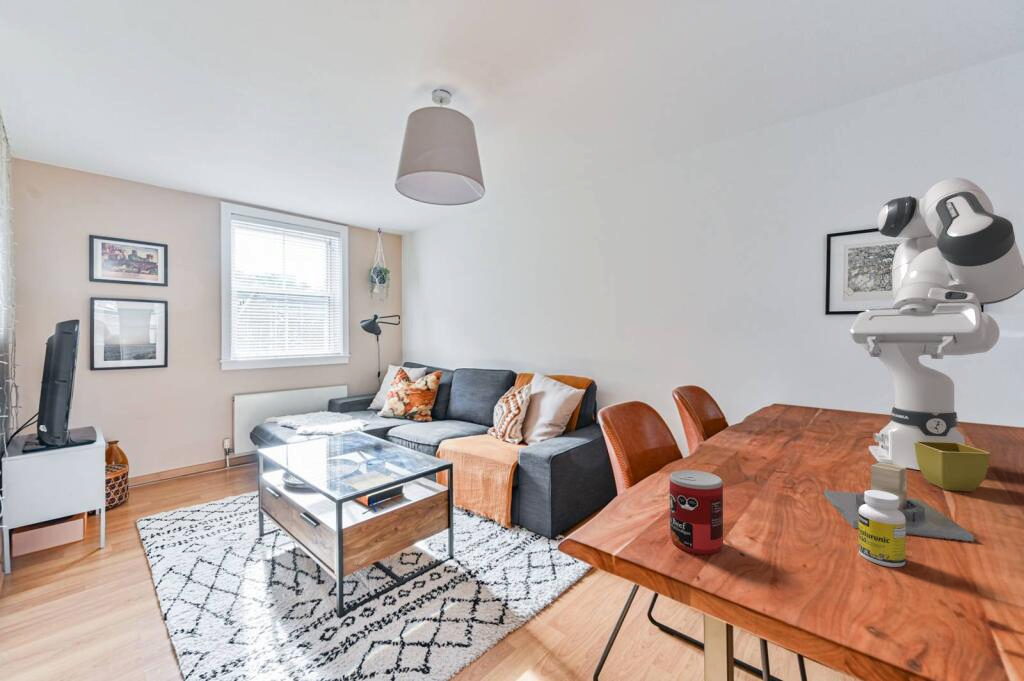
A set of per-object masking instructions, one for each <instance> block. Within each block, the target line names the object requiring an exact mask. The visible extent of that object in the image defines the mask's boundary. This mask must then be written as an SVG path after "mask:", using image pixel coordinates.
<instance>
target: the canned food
mask: <svg viewBox="0 0 1024 681" xmlns="http://www.w3.org/2000/svg"><path fill="white" fill-rule="evenodd" d="M723 488H724V485H723V479H722V478H721V477H720V476H718V475H716V474H713V473H711V472H707V471H702V470H693V469H690V470H689V469H687V470H686V469H684V470H683V469H681V470H675V471H673V472H670V474H669V528H670V529H669V530H670V531H669V532H670V533H669V535H670V538H671V542H672V544H673V545H674V546H676V547H677V548H679V549H680V550H683V551H685V552H688V553H691V554H697V555H713V554H717V553H719V552H720V551H722V550H721V549H722V548H723V545H724V489H723Z"/></svg>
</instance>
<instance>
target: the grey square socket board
mask: <svg viewBox="0 0 1024 681" xmlns="http://www.w3.org/2000/svg"><path fill="white" fill-rule="evenodd" d="M823 496H824V498H825V499H826V500H827V501H828V502H829V503H830V504H831V505H832V506H833V507H834V508H835V510H837V511H838V513H839V514H840V515H841V516H842V517H843V518H844V519H845V520H846V521H847V523H849V525H850V526H851V527H852V528H853V529H859V508H860V506H861V505H863V504H866V502H865V499H864V492H862V493H860V492H850V491H839V490H829V489H823ZM897 510H899V511H901V512H902V513H903V514H904V516H905V520H906V535H911V536H919V537H927V538H928V537H929V538H936V539H943V540H944V538H945V539H946V540H951V539H955V540H954V541H959V540H961V541H960V542H968V541H971V542H970V543H974V541H975V538H974V534H973V533H972V532H970V531H969V530H967V529H966V528H964V527H963V526H961V525H960V524H958V523H957V522H955V521H954V520H953V519H951V518H950V517H948V516H947V515H945V514H943V513H942V512H941V511H939V510H937V509H936V508H935V507H933V506H932V505H930V504H928V502H926V501H925V500H923V499H921V498H913V497H907V509H897Z"/></svg>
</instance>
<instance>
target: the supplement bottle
mask: <svg viewBox="0 0 1024 681" xmlns="http://www.w3.org/2000/svg"><path fill="white" fill-rule="evenodd" d="M863 493H864V499H865V502H866V504H863V505H861V506H860V508H859V528H858V552H859V555H861V557H862V558H864V559H866V560H868V561H869V562H872V563H874V564H877V565H879V566H880V565H881V566H884V567H890V568H899V567H903V566H905V565H906V560H907V559H906V558H907V557H906V553H907V550H906V548H907V544H906V543H907V542H906V538H907V536H906V535H907V534H906V520H905V516H904V514H903V513H902V512H901V511H899V510H897V508H899V497H898V496H896V495H894V494H891V493H888V492H884V491H878V490H871V489H868V490H864V491H863Z"/></svg>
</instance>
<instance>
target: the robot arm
mask: <svg viewBox="0 0 1024 681" xmlns="http://www.w3.org/2000/svg"><path fill="white" fill-rule="evenodd" d="M877 229H878V232H879V234H880V235H882V236H885V237H890V238H898V237H899V238H906V240H904V241H903V242H901V243H900V244H899V245H898V246H897V247H896V249H895V252H894V255H893V256H894V257H893V260H892V267H891V278H892V279H891V283H892V298H893V299H894V301H893V304H892V305H891V308H890V307H889V308H888V307H887V308H878V309H876V308H870V309H866V310H865V311H862V312H859V313H858V314H857V316H856V318H855V321H854V322H853V324H852V325H851V327H850V330H849V334H850V337H851V339H852V341H854V343H855V344H857V345H858V344H859V345H860V346H862V348H863V349H864V350H866V351H867V352H868V354H869V356H870V358H878V359H879V360H880V361H881V362H882V363H883V365H885V367H886V368H887V370H888V372H889V374H890V376H891V380H892V385H893V396H894V399H893V400H894V406H893V407H892V409H891V411H890V417H889V418H890V422H888V424H886V425H885V426H884V427H883V428H882V429H881V430H880V431H879V433H877V432H876V433H874V442H876V443H878V445H869V446H868V451H869V452H870V453H871V454H872V456H873V457H874V458H875V459H876V461H877V462H882V463H887V464H892V465H897V466H902V467H906V469H911V470H918V471H921V470H920V468H919V466H918V463H917V457H916V451H915V444H914V442H915V441H923V442H953V443H960V444H964V445H966V444H965V438H964V435H963V434H962V432H959V431H958V430H957V428H956V427H958V421H959V419H958V413H957V412H956V411H955V383H954V381H953V379H952V378H951V377H950V376H948V375H947V374H945V373H944V372H941V371H940V370H937V369H934V368H932V367H928V366H926V365H923V363H921V361H920V358H919V357H922V356H930V358H931V360H933V359H935V360H943V358H944V356H967V355H968V356H969V355H975V354H982V353H987V352H988V351H990V350H991V349H993V348H994V347H995V346H996V344H997V343H998V341H999V338H1000V327H999V325H998V323H997V321H996V320H995V318H993V317H992V316H991V315H989V314H988V313H986V312H983V311H982V307H981V306H982V305H983V306H986V305H991V304H997V303H1001V302H1005V301H1007V300H1009V299H1011V298H1014V296H1017V295H1018V294H1019V293H1021V292H1022V291H1023V290H1024V262H1023V259H1022V257H1021V256H1022V255H1021V253H1020V250H1019V248H1018V244H1017V241H1016V235H1015V230H1014V225H1013V224H1012V222H1011V220H1009V219H1008V218H1005V217H1003V216H1000V215H996V214H995V210H994V207H993V204H992V201H991V199H990V198H989V196H988V195H987V194H986V192H985V191H984V190H983V189H982V188H981V187H980V186H979V185H977V184H975V183H974V182H973V181H971V180H969V179H966V178H962V177H952V178H946V179H943V180H941V181H939V182H937V183H935V184H934V185H933V186H931V187H930V188H929V189H928V190H927V191H926V193H925V194H924V196H914V197H913V196H911V195H910V196H904V197H902V196H901V197H898V198H894V199H891V200H889V201H888V202H886V203H885V204H884V205H883V207H882V208H881V210H880V211H879V213H878V216H877Z"/></svg>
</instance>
